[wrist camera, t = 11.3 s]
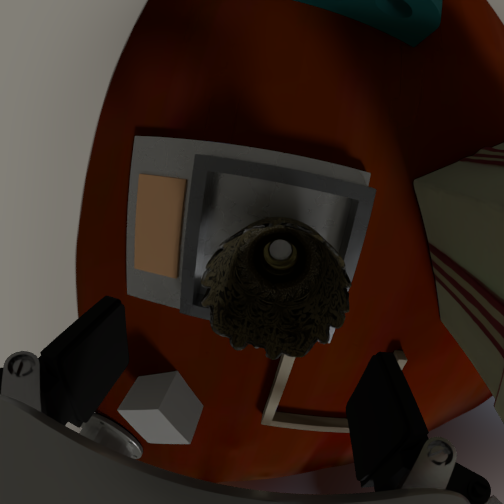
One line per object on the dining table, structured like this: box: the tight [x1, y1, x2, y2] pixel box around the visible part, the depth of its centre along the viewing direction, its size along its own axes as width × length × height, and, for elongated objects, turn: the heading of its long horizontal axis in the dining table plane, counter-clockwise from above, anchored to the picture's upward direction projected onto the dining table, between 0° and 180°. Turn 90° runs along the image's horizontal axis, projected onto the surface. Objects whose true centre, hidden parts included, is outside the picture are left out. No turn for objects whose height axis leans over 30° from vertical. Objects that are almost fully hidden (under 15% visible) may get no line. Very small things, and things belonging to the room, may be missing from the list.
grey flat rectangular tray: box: [127, 136, 376, 343], centre depth 20 cm, size 14×18×3 cm
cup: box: [201, 217, 351, 360], centre depth 17 cm, size 8×7×8 cm
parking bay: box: [261, 350, 407, 433], centre depth 25 cm, size 12×12×2 cm
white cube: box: [117, 371, 203, 444], centre depth 26 cm, size 6×6×6 cm
